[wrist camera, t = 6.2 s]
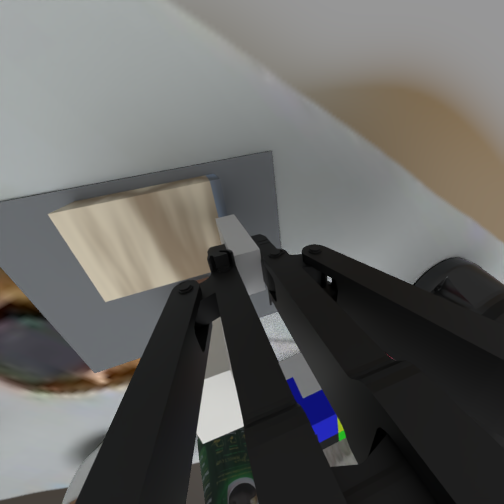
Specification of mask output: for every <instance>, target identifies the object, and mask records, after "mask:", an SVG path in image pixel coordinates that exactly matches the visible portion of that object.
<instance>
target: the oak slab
mask: <svg viewBox="0 0 504 504" xmlns="http://www.w3.org/2000/svg"><path fill="white" fill-rule="evenodd" d="M48 216H49V217H50V219H51V220H52V222H53V223H54V225H55V226H56V228H57V229H58V231H59V232H60V234H61V235H62V237H63V238H64V240H65V242H66V243H67V245H68V246H69V248H70V249H71V251H72V252H73V254H74V255H75V257H76V258H77V260H78V261H79V263H80V264H81V266H82V267H83V269H84V270H85V272H86V273H87V275H88V277H89V278H90V280H91V281H92V283H93V284H94V286H95V287H96V289H97V290H98V292H99V293H100V295H101V296H102V298H103V299H104V301H105V302H108V301H111V300H115V299H118V298H122V297H125V296H129V295H132V294H136V293H139V292H143V291H146V290H150V289H153V288H157V287H160V286H164V285H168V284H171V283H175V282H178V281H182V280H185V279H189V278H192V277H196V276H199V275H203V274H206V273H210V272H211V271H210V267H209V264H208V261H207V257H208V253H207V251H208V249H209V248H210V247H214V246H217V245H221V240H220V236H219V232H218V228H217V224H216V220H215V219H216V218H220V217H224V216H228V214H227V210H226V205H225V200H224V196H223V191H222V187H221V182H220V179H219V178H218V177H217V176H216V175H215V174H209V175H204V176H199V177H194V178H189V179H184V180H179V181H174V182H169V183H164V184H159V185H154V186H149V187H144V188H139V189H134V190H129V191H124V192H119V193H114V194H109V195H104V196H99V197H94V198H89V199H84V200H79V201H74V202H72V203H70V204H68V205H66V206H64V207H62V208H60V209H57V210H55V211H53V212H51V213H49V214H48Z"/></svg>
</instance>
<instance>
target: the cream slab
mask: <svg viewBox="0 0 504 504" xmlns="http://www.w3.org/2000/svg"><path fill="white" fill-rule="evenodd" d="M208 278H209V277H207V278H203V279H200V280H196V281H197V282H198V283H201V282H203V281H205V280H206V279H208ZM212 325H213V326H212V332H211V339H210V346H209V352H208V359H207V366H206V372H205V379H204V386H203V392H202V399H201V405H200V412H199V419H198V425H197V432H196V433H197V435H198V437H199V438H200V440H201V441H202V443H203V444H204V443H206V442H209V441H211V440H213V439H216V438H218V437H220V436H223V435H225V434H227V433H230V432H232V431H234V430H237V429H239V428H241V427H244V424H243V419H242V414H241V409H240V405H239V400H238V395H237V391H236V386H235V381H234V377H233V372H232V368H231V363H230V358H229V354H228V349H227V344H226V340H225V335H224V330H223V326H222V321H221V317H219V318H217V319H216V320H214V321H212Z"/></svg>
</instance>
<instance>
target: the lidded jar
mask: <svg viewBox="0 0 504 504" xmlns="http://www.w3.org/2000/svg"><path fill="white" fill-rule="evenodd" d="M102 443H103V442H102ZM102 443H101V444H100V445H99V446H98V448H97V449H96V450H94V451H93V452H92V453H91V454H90V455H89V456H88V457H87V458H86V459H85V461H84V462H83V463H82V464H81V466H80V467H79V469H78V470H77V472H76V473H75V475H74V477H73V479H72V481H71V483H70V485H69V487H68V490H67V492H66V494H65V497H64V499H63V502H62V504H75V502H76V500H77V498H78V496H79V493H80V491H81V489H82V487H83V485H84V482H85V480H86V478H87V476H88V474H89V471H90V469H91V467H92V465H93V463H94V460H95V458H96V456H97V454H98V452H99V449H100V447H101V445H102Z"/></svg>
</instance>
